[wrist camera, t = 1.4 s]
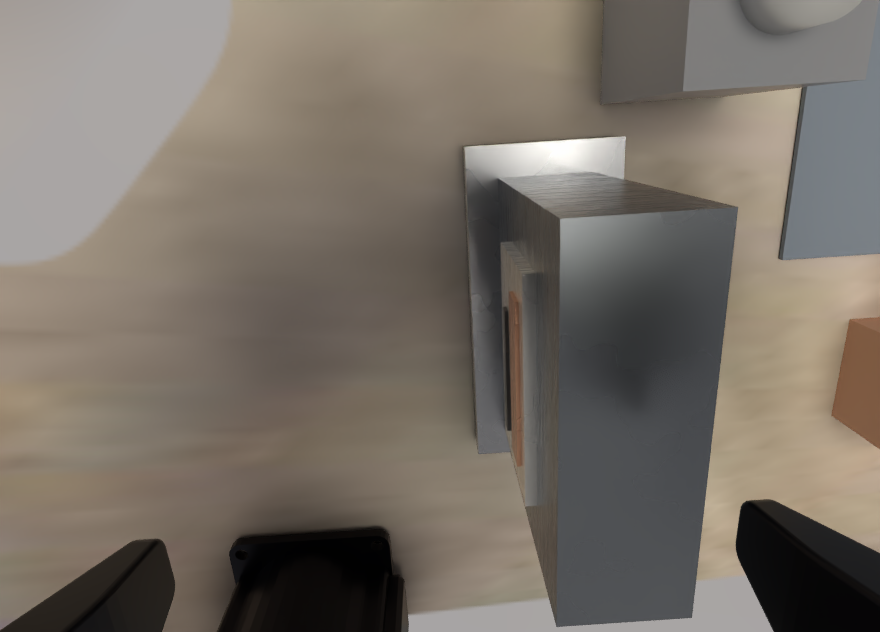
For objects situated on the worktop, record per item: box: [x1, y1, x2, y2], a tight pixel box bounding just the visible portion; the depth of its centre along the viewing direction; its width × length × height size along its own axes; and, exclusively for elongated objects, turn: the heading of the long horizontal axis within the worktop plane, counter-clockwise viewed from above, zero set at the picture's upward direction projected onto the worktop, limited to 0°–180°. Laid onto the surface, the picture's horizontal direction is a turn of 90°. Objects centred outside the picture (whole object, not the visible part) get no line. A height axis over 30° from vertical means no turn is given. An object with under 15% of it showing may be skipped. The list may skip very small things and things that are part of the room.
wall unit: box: [463, 136, 738, 627], centre depth 15 cm, size 5×11×10 cm, turn 4°
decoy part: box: [601, 0, 879, 104], centre depth 14 cm, size 4×4×7 cm
